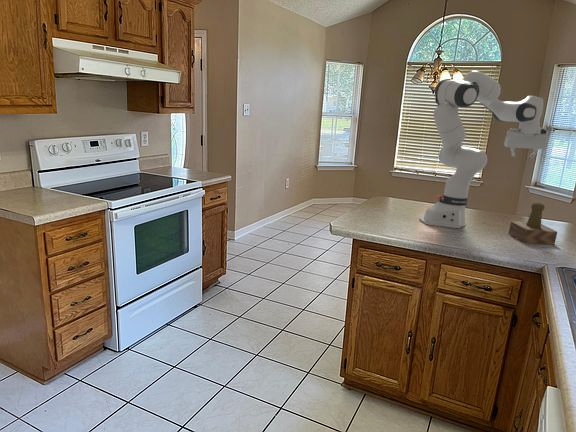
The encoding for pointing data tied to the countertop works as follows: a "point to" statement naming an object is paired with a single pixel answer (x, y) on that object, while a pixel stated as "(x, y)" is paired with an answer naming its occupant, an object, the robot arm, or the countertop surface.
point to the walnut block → (532, 233)
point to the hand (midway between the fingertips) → (522, 157)
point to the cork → (535, 215)
